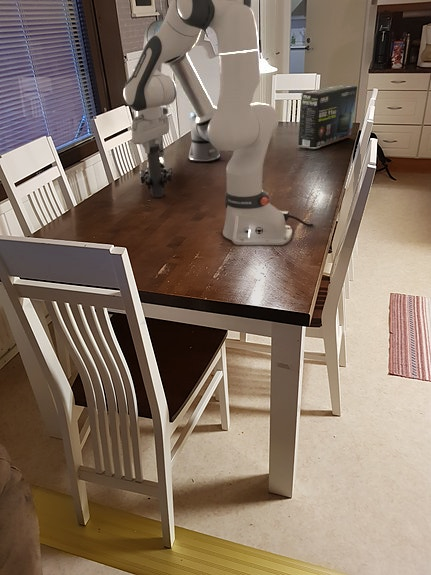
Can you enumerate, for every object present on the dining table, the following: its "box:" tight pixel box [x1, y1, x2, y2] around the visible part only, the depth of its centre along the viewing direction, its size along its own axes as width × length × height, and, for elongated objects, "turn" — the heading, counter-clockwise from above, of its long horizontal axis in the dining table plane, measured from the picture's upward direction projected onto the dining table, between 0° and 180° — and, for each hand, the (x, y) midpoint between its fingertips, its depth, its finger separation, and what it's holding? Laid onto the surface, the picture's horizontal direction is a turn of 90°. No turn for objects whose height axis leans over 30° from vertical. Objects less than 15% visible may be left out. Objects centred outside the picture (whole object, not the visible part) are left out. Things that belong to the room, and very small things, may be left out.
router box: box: [297, 84, 358, 151], centre depth 238 cm, size 36×11×27 cm, turn 134°
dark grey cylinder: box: [146, 151, 164, 198], centre depth 179 cm, size 5×5×19 cm
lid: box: [148, 144, 160, 152], centre depth 174 cm, size 5×5×2 cm
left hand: (156, 185), depth 176 cm, fingers closed on dark grey cylinder, 5 cm apart
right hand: (152, 150), depth 174 cm, fingers closed on lid, 5 cm apart
